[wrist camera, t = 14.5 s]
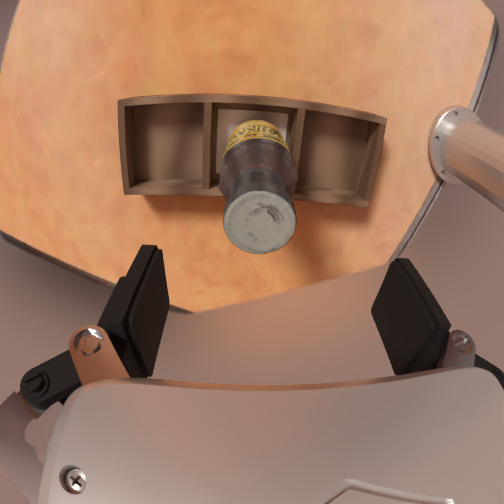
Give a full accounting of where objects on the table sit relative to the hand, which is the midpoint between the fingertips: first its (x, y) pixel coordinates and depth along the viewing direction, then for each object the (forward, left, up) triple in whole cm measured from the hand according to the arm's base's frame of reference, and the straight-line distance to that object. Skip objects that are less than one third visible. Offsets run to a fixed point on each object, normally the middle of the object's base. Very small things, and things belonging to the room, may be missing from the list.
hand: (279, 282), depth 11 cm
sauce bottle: (0, 0, -25) cm, 25 cm away
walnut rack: (0, 0, -26) cm, 26 cm away
